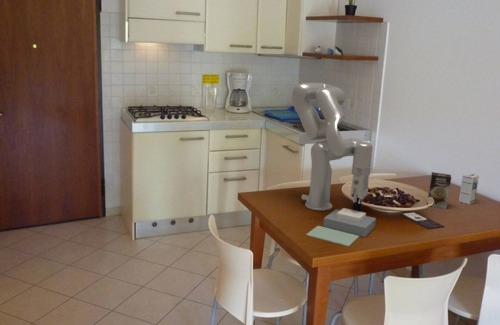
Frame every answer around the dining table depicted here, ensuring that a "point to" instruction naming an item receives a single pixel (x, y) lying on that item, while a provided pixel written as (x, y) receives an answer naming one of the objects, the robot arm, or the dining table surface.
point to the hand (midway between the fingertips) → (356, 211)
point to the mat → (332, 235)
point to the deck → (349, 224)
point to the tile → (351, 215)
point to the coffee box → (439, 189)
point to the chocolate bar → (422, 220)
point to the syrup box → (468, 188)
